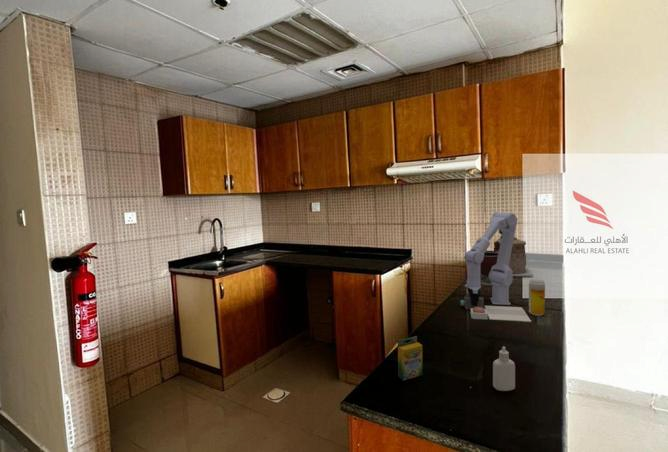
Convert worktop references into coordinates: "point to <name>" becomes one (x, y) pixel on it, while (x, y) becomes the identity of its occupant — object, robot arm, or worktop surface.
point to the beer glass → (536, 297)
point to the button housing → (479, 314)
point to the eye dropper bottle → (503, 372)
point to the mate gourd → (487, 266)
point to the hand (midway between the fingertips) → (474, 304)
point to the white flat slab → (507, 313)
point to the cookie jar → (516, 257)
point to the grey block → (469, 305)
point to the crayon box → (409, 359)
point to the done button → (478, 310)
